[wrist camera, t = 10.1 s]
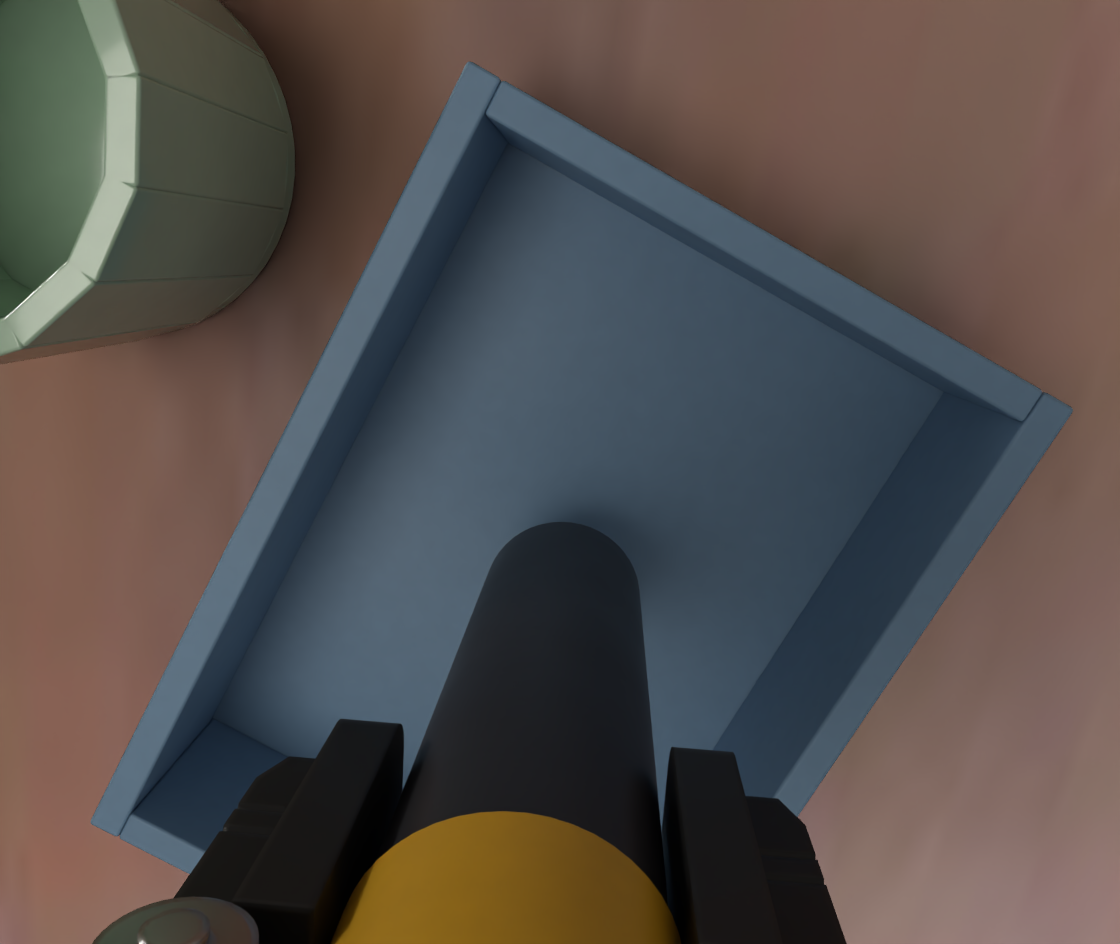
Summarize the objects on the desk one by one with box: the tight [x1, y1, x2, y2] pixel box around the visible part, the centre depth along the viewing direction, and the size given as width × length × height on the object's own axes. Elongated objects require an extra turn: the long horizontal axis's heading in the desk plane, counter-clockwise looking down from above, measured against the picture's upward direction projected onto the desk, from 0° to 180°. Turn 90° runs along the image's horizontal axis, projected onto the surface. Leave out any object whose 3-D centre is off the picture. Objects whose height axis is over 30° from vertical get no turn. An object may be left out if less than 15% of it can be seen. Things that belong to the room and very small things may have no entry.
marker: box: [330, 522, 681, 944], centre depth 13 cm, size 3×3×13 cm
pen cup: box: [0, 0, 295, 365], centre depth 17 cm, size 7×7×7 cm
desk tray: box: [91, 62, 1073, 874], centre depth 20 cm, size 11×15×4 cm
